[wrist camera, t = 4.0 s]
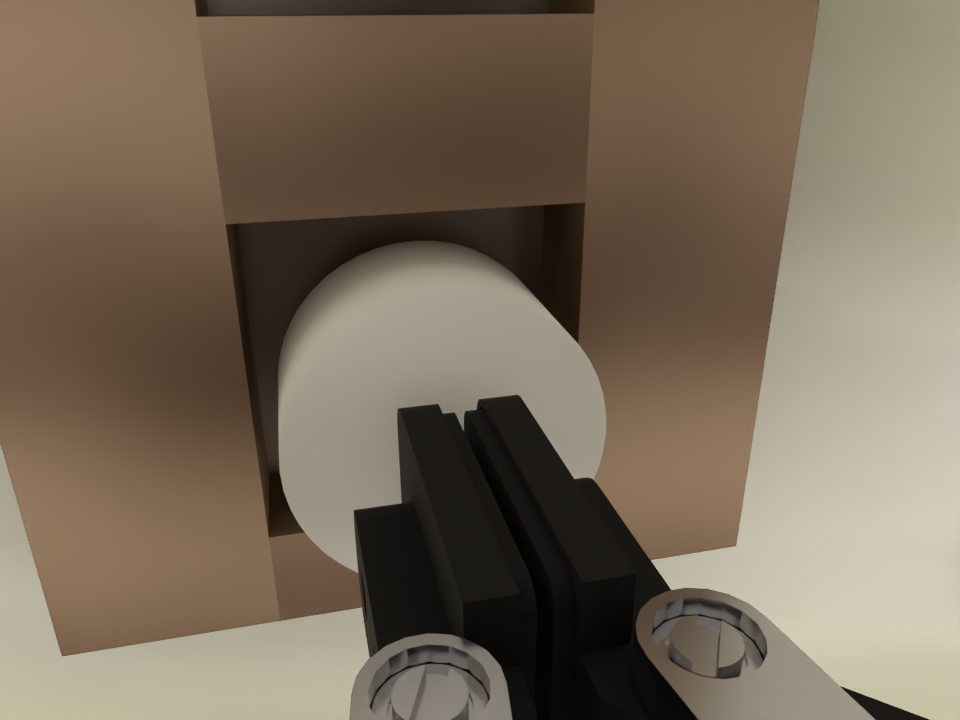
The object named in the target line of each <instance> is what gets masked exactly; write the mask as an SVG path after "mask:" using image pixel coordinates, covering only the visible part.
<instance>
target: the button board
mask: <svg viewBox="0 0 960 720" xmlns="http://www.w3.org/2000/svg"><path fill="white" fill-rule="evenodd" d="M819 2H820V0H0V443H1V447H2V450H3V453H4V457H5V460H6V464H7V467H8V471H9V474H10V478H11V481H12V485H13V488H14V492H15V495H16V499H17V502H18V505H19V509H20V512H21V516H22V519H23V523H24V526H25V530H26V533H27V537H28V540H29V544H30V547H31V550H32V554H33V557H34V561H35V564H36V568H37V571H38V575H39V578H40V582H41V585H42V589H43V592H44V595H45V599H46V602H47V606H48V609H49V613H50V616H51V620H52V623H53V627H54V630H55V634H56V637H57V640H58V644H59V647H60V651H61V654H62V656H67V655H73V654H79V653H86V652H92V651H98V650H104V649H110V648H116V647H122V646H128V645H134V644H140V643H147V642H153V641H159V640H165V639H171V638H177V637H183V636H189V635H195V634H202V633H208V632H214V631H220V630H226V629H232V628H238V627H244V626H250V625H256V624H263V623H269V622H275V621H281V620H287V619H293V618H299V617H305V616H311V615H318V614H324V613H330V612H336V611H342V610H348V609H354V608H360V607H362V601H361V592H360V583H359V574H358V573H357V572H355V571H353V570H351V569H349V568H347V567H345V566H343V565H341V564H340V563H338V562H337V561H336V560H334V559H333V558H331V557H330V556H328V555H327V554H326V553H324V552H323V551H322V550H321V549H320V548H319V547H318V546H317V545H316V544H315V543H314V542H313V541H312V540H311V539H310V538H309V537H308V535H307V534H306V533H305V532H304V530H303V529H302V528H301V527H300V525H299V524H298V522H297V520H296V518H295V516H294V515H293V513H292V511H291V509H290V507H289V504H288V502H287V499H286V496H285V494H284V491H283V486H282V481H281V476H280V469H279V431H278V367H279V357H280V352H281V348H282V344H283V340H284V337H285V334H286V332H287V329H288V327H289V325H290V322H291V320H292V318H293V317H294V315H295V313H296V312H297V310H298V308H299V306H300V305H301V304H302V302H303V301H304V300H305V298H306V297H307V296H308V295H309V293H310V292H311V291H312V290H313V289H314V288H315V287H316V286H317V285H318V284H319V283H320V282H321V281H322V280H323V279H324V278H325V277H326V276H328V275H329V274H330V273H332V272H333V271H334V270H336V269H337V268H338V267H340V266H341V265H343V264H344V263H346V262H348V261H350V260H351V259H353V258H355V257H357V256H359V255H361V254H364V253H366V252H369V251H371V250H373V249H376V248H379V247H383V246H387V245H391V244H394V243H401V242H409V241H439V242H447V243H453V244H457V245H461V246H465V247H468V248H471V249H474V250H476V251H478V252H481V253H483V254H486V255H487V256H489V257H491V258H492V259H494V260H496V261H497V262H499V263H501V264H502V265H503V266H505V267H506V268H507V269H508V270H510V271H511V272H512V273H513V274H515V275H516V277H517V278H518V279H519V280H520V281H521V282H522V283H523V284H524V285H525V286H526V287H527V288H528V289H529V291H530V292H531V293H532V294H533V295H534V296H535V297H536V298H537V299H538V300H539V302H540V303H541V304H542V305H543V306H544V307H545V308H546V309H547V310H548V311H549V312H550V314H551V315H552V316H553V317H554V318H555V319H556V320H557V321H558V322H559V323H560V325H561V326H562V327H563V328H564V329H565V330H566V331H567V332H568V333H569V334H570V335H571V337H572V338H573V339H574V340H575V341H576V342H577V343H578V344H579V345H580V347H581V348H582V350H583V351H584V353H585V354H586V356H587V357H588V359H589V360H590V362H591V364H592V366H593V368H594V370H595V372H596V374H597V376H598V379H599V382H600V386H601V389H602V392H603V396H604V402H605V409H606V436H605V443H604V450H603V454H602V457H601V461H600V465H599V468H598V470H597V473H596V475H595V478H594V481H595V482H596V483H597V484H598V486H599V487H600V488H601V490H602V491H603V493H604V494H605V496H606V497H607V499H608V500H609V501H610V503H611V504H612V506H613V507H614V509H615V510H616V511H617V513H618V514H619V516H620V517H621V519H622V520H623V522H624V523H625V524H626V526H627V527H628V529H629V530H630V532H631V533H632V535H633V536H634V537H635V539H636V540H637V542H638V543H639V545H640V546H641V547H642V549H643V550H644V552H645V553H646V555H647V556H648V558H649V559H650V560H653V559H659V558H666V557H672V556H678V555H684V554H690V553H696V552H702V551H708V550H714V549H720V548H727V547H733V546H736V543H737V536H738V530H739V523H740V517H741V510H742V504H743V497H744V490H745V484H746V477H747V471H748V464H749V458H750V451H751V445H752V438H753V432H754V425H755V419H756V412H757V406H758V399H759V393H760V386H761V380H762V373H763V367H764V360H765V354H766V347H767V341H768V334H769V328H770V321H771V315H772V308H773V301H774V295H775V288H776V282H777V275H778V269H779V262H780V256H781V249H782V243H783V236H784V230H785V223H786V217H787V210H788V204H789V197H790V191H791V184H792V178H793V171H794V165H795V158H796V152H797V145H798V139H799V132H800V126H801V119H802V112H803V106H804V99H805V93H806V86H807V80H808V73H809V67H810V60H811V54H812V47H813V41H814V34H815V28H816V21H817V15H818V8H819Z"/></svg>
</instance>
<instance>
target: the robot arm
mask: <svg viewBox="0 0 960 720" xmlns="http://www.w3.org/2000/svg"><path fill="white" fill-rule="evenodd" d="M397 427H398V446H399V464H400V482H401V500H402V503H400V504H393V505H386V506H379V507H372V508H365V509H357V510H354V528H355V541H356V552H357V564H358V574H359V583H360V592H361V601H362V609H363V616H364V623H365V630H366V637H367V643H368V650H369V656H370V659H368V661H367V662H366V663H365V665H364V666H363V668H362V669H361V670H360V672H359V673H358V675H357V676H356V680H355V683H354V687H353V691H352V694H351V706H350V719H349V720H929V719H926V718H923V717H921V716H918V715H915V714H913V713H910V712H907V711H905V710H902V709H899V708H897V707H894V706H891V705H889V704H886V703H883V702H881V701H878V700H875V699H873V698H870V697H867V696H865V695H862V694H859V693H857V692H854V691H851V690H849V689H846V688H843V687H841V686H839V685H838V684H837V683H836V682H835V681H834V680H833V679H832V678H831V677H830V676H829V675H827V674H826V673H825V672H824V671H823V670H822V669H821V668H820V667H819V666H818V665H817V664H816V663H815V662H814V661H813V660H812V659H810V658H809V657H808V656H807V655H806V654H805V653H804V652H803V651H802V650H801V649H800V648H799V647H798V646H797V645H796V644H795V643H794V642H792V641H791V640H790V639H789V638H788V637H787V636H786V635H785V634H784V633H783V632H782V631H781V630H780V629H779V628H778V627H777V626H776V625H774V624H773V623H772V622H771V621H770V620H769V619H768V618H767V617H766V616H765V615H763V614H762V613H761V612H759V611H758V610H757V609H755V608H754V607H753V606H751V605H750V604H748V603H746V602H744V601H742V600H740V599H738V598H735V597H733V596H731V595H729V594H725V593H721V592H717V591H713V590H709V589H697V588H683V589H677V590H671V589H670V588H669V586H668V585H667V583H666V582H665V581H664V579H663V578H662V576H661V575H660V573H659V572H658V570H657V569H656V568H655V566H654V565H653V563H652V562H651V560H650V559H649V558H648V556H647V555H646V553H645V552H644V550H643V549H642V547H641V546H640V545H639V543H638V542H637V540H636V539H635V537H634V536H633V535H632V533H631V532H630V530H629V529H628V527H627V526H626V524H625V523H624V522H623V520H622V519H621V517H620V516H619V514H618V513H617V511H616V510H615V509H614V507H613V506H612V504H611V503H610V501H609V500H608V499H607V497H606V496H605V494H604V493H603V491H602V490H601V488H600V487H599V486H598V484H597V483H596V482H595V481H594V480H593V479H592V478H588V477H586V478H579V479H574V478H573V476H572V475H571V473H570V471H569V470H568V468H567V467H566V465H565V464H564V462H563V461H562V459H561V458H560V456H559V455H558V453H557V452H556V450H555V448H554V447H553V445H552V444H551V442H550V441H549V439H548V438H547V436H546V435H545V433H544V432H543V430H542V429H541V427H540V426H539V424H538V422H537V421H536V419H535V418H534V416H533V415H532V413H531V412H530V410H529V409H528V407H527V406H526V404H525V403H524V401H523V400H522V398H521V397H520V396H519V395H511V396H502V397H494V398H485V399H479V400H478V403H477V410H470V411H465V414H464V431H463V429H462V427H461V424H460V422H459V420H458V418H457V416H456V414H455V412H453V413H444V414H443V413H442V411H441V408H440V406H439V405H438V404H432V405H423V406H415V407H406V408H398V411H397Z"/></svg>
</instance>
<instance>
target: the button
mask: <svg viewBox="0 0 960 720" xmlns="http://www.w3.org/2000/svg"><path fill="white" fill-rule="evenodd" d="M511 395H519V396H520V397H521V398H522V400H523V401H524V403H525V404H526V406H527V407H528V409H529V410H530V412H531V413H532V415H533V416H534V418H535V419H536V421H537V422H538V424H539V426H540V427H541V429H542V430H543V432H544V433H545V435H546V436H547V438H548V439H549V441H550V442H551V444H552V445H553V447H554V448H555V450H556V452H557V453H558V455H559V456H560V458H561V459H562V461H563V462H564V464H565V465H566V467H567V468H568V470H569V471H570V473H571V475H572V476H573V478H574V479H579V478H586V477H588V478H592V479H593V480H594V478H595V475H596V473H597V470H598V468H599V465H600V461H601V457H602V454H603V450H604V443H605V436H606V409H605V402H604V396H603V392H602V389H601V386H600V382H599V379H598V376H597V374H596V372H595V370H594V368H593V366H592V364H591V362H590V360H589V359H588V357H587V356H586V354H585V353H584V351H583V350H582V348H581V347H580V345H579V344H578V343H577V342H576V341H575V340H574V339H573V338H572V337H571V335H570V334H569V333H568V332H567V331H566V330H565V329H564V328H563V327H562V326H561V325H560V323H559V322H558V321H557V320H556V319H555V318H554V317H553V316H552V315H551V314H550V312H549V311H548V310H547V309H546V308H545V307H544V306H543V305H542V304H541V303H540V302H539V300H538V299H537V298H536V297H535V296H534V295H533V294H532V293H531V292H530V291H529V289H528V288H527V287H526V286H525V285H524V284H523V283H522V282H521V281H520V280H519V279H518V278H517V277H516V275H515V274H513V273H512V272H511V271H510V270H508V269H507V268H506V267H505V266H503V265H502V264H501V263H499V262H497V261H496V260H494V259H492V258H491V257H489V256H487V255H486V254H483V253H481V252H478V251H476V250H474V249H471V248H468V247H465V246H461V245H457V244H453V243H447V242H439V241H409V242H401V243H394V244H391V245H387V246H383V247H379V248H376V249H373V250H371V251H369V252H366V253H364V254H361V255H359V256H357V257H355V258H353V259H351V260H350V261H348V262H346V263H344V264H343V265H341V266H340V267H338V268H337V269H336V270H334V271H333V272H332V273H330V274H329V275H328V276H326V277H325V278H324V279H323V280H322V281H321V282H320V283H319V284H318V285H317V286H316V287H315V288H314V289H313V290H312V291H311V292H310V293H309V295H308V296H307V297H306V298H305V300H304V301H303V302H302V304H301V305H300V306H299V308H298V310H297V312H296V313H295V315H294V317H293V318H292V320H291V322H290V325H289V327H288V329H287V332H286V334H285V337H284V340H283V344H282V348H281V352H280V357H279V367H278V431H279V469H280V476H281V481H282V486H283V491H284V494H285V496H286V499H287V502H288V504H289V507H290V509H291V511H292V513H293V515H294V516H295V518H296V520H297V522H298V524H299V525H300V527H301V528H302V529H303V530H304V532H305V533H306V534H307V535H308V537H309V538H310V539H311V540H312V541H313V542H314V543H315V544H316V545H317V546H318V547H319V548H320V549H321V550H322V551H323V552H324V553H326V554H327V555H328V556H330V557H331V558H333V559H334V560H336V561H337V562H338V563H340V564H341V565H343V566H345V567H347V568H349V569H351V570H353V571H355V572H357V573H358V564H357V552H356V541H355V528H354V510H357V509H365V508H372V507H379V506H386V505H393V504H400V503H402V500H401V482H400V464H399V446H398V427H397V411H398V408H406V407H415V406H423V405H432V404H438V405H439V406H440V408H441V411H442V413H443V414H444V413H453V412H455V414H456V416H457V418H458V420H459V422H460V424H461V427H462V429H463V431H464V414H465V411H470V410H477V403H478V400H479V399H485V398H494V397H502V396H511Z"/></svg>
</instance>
